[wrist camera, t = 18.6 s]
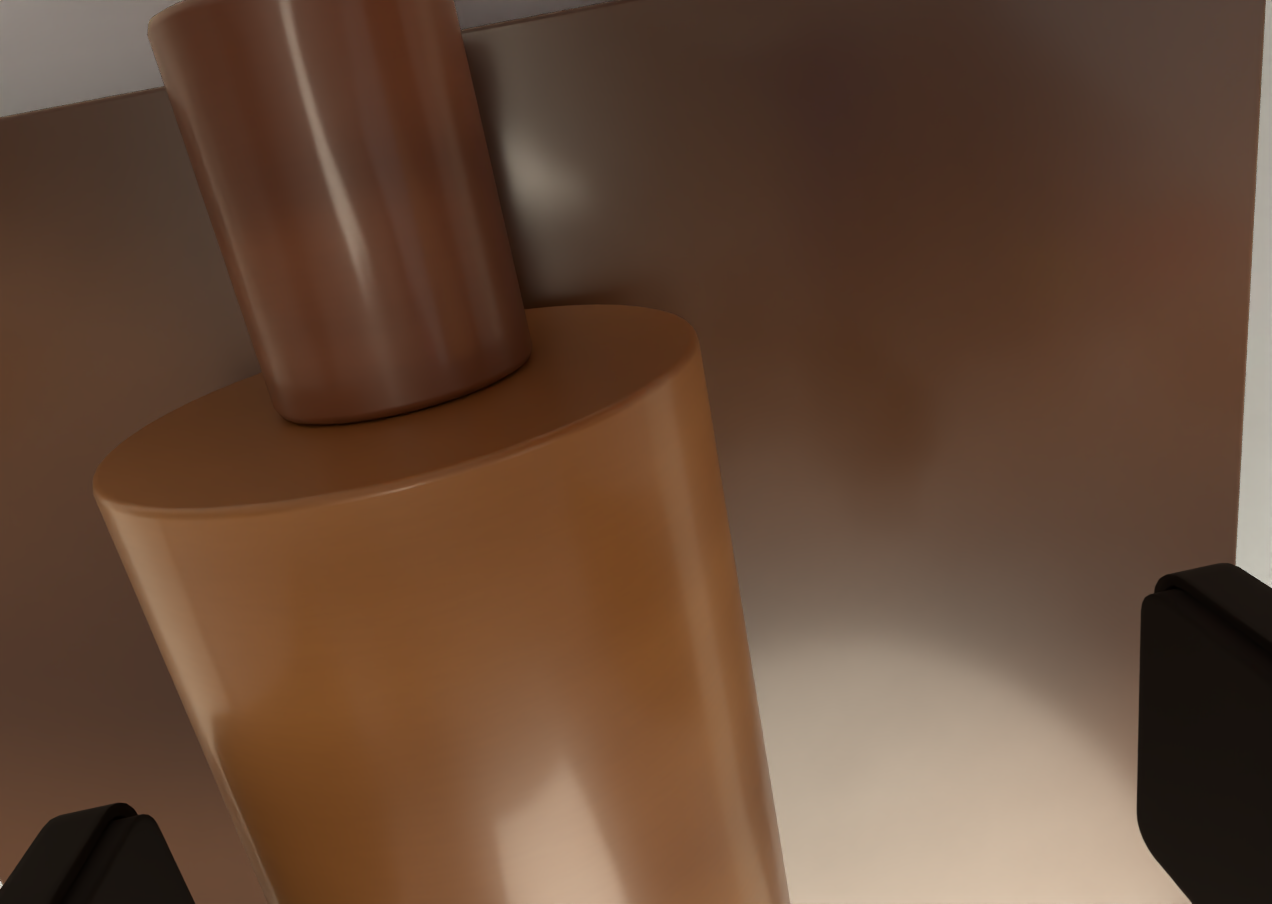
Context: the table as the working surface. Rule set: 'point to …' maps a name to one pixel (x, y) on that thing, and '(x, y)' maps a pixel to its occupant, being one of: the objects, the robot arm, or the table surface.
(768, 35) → the pastry board
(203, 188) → the rolling pin
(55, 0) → the table surface
